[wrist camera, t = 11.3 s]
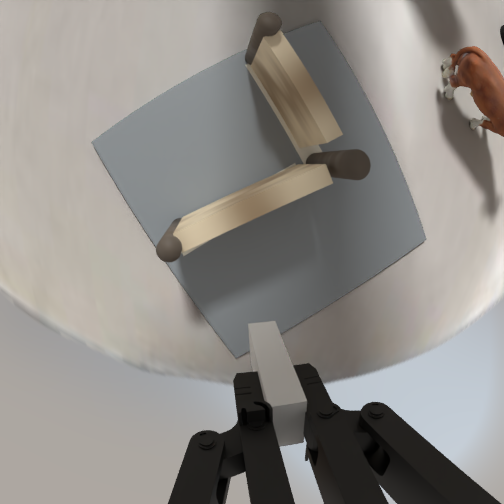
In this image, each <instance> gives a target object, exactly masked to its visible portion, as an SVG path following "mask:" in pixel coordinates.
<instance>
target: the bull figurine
mask: <svg viewBox="0 0 504 504" xmlns="http://www.w3.org/2000/svg"><path fill="white" fill-rule="evenodd" d="M442 63H443V69H444V72H443V75H442V76H443V78H445V79H446V78H449V79H450V81H449V84H448V85H447V86H446V87H445V88H444V91H446V93H445V97H446V98H447V99H448V100H452V99H453V93H454V90H455V89H456V88H457V87H459V86H464V87H469V88H471V90H472V91H471V93H470V95H471V96H472V97H473V99H474V102H475V104H476V105H477V107H478V108H479V110H480V111H481V112H482V113H483V114H484V116H482V118H483V120H477V119H475V118H473V119H472V120H470V122H471V123H470V128H471V129H472V130H474V129H475V128H476V127H477V126H482V127H483V128H485V129H489V130H491V131H492V132H494V133H497V134H499V135H501V136H503V137H504V78H503V76H502V75H501V73H500V71H499V70H498V68H497V67H496V66H495V64H494V63H493V62H492V61H491V59H490V58H489V57H488V55H487V54H486V53H485V52H484V51H482V50H481V49H479V48H478V47H475V46H472V47H465V48H462V49H461V50H460V51H458V53H457V54H451V55H450V57H449V58H447V59H446V60H445V59H444V60H443V62H442ZM456 65H458V66H459V67H458V71H457V73H456V75H455V74H454V72H455V66H456Z"/></svg>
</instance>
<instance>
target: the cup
mask: <svg viewBox="0 0 504 504" xmlns="http://www.w3.org/2000/svg"><path fill="white" fill-rule="evenodd" d="M500 32H501V38H502V41H503V43H504V25H503V26H502V27H501V29H500Z"/></svg>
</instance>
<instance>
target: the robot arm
mask: <svg viewBox="0 0 504 504" xmlns="http://www.w3.org/2000/svg"><path fill="white" fill-rule="evenodd" d="M248 329H249V344H250V359H251V367H252V371H253V372H246V373H237V374H236V376H235V378H234V380H233V383H234V391H235V400H236V408H237V415H238V421H237V424H236V425H235V426H234V427H233V428H232V429H231V430H229V431H227V432H224V433H221V434H219V433H217V432H215V431H210V430H206V431H201V432H198V433H196V434H195V435H193V436H192V438H191V439H190V442H189V445H188V448H187V450H186V453H185V456H184V459H183V462H182V465H181V467H180V470H179V473H178V476H177V479H176V482H175V485H174V488H173V491H172V493H171V496H170V499H169V502H168V504H225V503H226V498H227V493H228V488H229V484H230V479H231V477H232V476H235V475H237V474H240V473H243V472H245V471H246V477H247V484H248V490H249V496H250V502H251V504H295V502H294V499H293V495H292V492H291V488H290V484H289V481H288V477H287V474H286V470H285V467H284V462H283V459H282V455H281V451H280V448H279V447H280V446H286V445H292V444H298V443H303V442H304V441H303V440H304V437H305V439H306V442H307V445H306V455H305V461H307V460H308V458H309V460H310V463H311V466H312V470H313V472H314V475H315V478H316V481H317V484H318V487H319V490H320V493H321V495H322V499H323V502H324V504H388V502H387V500H386V498H385V496H384V494H383V492H382V490H381V488H380V486H381V487H382V488H383V489H384V490H385V491H386V492H387V493H388V494H389V495H390V497H391V498H392V499H393V500H394V501H395V502H396V503H397V504H501V503H500V502H499V501H497V500H496V499H495V498H494V497H493V496H491V495H490V494H489V493H488V492H486V491H485V490H484V489H483V488H482V487H481V486H479V485H478V484H477V483H476V482H474V481H473V480H472V479H471V478H470V477H469V476H467V475H466V474H465V473H464V472H463V471H461V470H460V469H459V468H458V467H457V466H456V465H455V464H453V463H452V462H451V461H450V460H449V459H448V458H446V457H445V456H444V455H443V454H442V453H441V452H439V451H438V450H437V449H436V448H435V447H434V446H433V445H431V444H430V443H429V442H428V441H427V440H426V439H424V438H423V437H422V436H421V435H420V434H419V433H418V432H417V431H415V430H414V429H413V428H412V427H411V426H410V425H408V424H407V423H406V422H405V421H404V420H403V419H402V418H401V417H399V416H398V415H397V414H396V413H395V412H394V411H393V410H392V409H391V408H389V407H388V406H387V405H385V404H384V403H380V402H371V403H368V404H366V405H365V406H363V408H362V409H361V411H349V410H343V409H341V408H340V407H339V406H338V405H336V404H334V403H333V402H332V401H331V399H330V397H329V395H328V393H327V391H326V389H325V387H324V385H323V383H322V380H321V378H320V377H319V374H318V372H317V370H316V369H315V368H314V367H313V366H311V365H310V364H309V363H307V364H301V365H295V366H293V364H292V362H291V359H290V357H289V354H288V352H287V349H286V347H285V344H284V342H283V339H282V337H281V334H280V332H279V329H278V327H277V324H276V322H275V321H269V322H260V323H250V324H248ZM378 483H379V484H378ZM379 485H380V486H379Z"/></svg>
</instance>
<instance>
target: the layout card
mask: <svg viewBox="0 0 504 504" xmlns="http://www.w3.org/2000/svg"><path fill="white" fill-rule="evenodd" d="M283 35H284V36H285V38H286V39H287V40H288V42H289V43H290V45H291V46H292V48H293V49H294V51H295V53H296V54H297V56H298V57H299V59H300V60H301V62H302V63H303V65H304V67H305V68H306V70H307V71H308V73H309V75H310V76H311V78H312V80H313V81H314V83H315V85H316V86H317V88H318V90H319V91H320V93H321V95H322V97H323V98H324V100H325V102H326V104H327V105H328V107H329V109H330V111H331V113H332V114H333V116H334V118H335V120H336V122H337V124H338V126H339V127H340V129H341V131H342V133H343V135H341V136H339V137H338V138H336V139H334V140H332V141H330V142H328V143H324V144H319V145H313V146H308V147H302V148H299V146H298V144H297V142H296V141H295V139H294V137H293V135H292V134H291V132H290V130H289V128H288V127H287V125H286V123H285V121H284V120H283V118H282V116H281V115H280V113H279V111H278V110H277V108H276V106H275V105H274V103H273V101H272V100H271V98H270V96H269V95H268V93H267V91H266V90H265V88H264V87H263V85H262V83H261V82H260V80H259V79H258V77H257V75H256V74H255V72H254V71H253V69H252V68H251V65H250V64H248V63H247V62H246V60H245V54H246V51H247V49H246V50H244V51H242V52H239V53H237V54H235V55H233V56H231V57H229V58H227V59H225V60H223V61H221V62H219V63H217V64H215V65H213V66H211V67H209V68H207V69H205V70H203V71H201V72H199V73H197V74H196V75H194V76H192V77H190V78H188V79H187V80H185V81H183V82H181V83H180V84H178V85H176V86H174V87H173V88H171V89H169V90H168V91H166V92H164V93H163V94H161V95H159V96H158V97H156V98H154V99H153V100H151V101H150V102H148V103H147V104H145V105H143V106H142V107H140V108H139V109H137V110H136V111H134V112H133V113H131V114H130V115H128V116H127V117H125V118H124V119H123V120H121V121H120V122H118V123H117V124H115V125H114V126H113V127H111V128H110V129H109V130H107V131H106V132H104V133H103V134H102V135H100V136H99V137H98V138H96V139H95V140H94V141H92V144H93V146H94V147H95V149H96V151H97V153H98V154H99V156H100V158H101V160H102V161H103V163H104V165H105V167H106V168H107V170H108V172H109V173H110V175H111V177H112V178H113V180H114V182H115V183H116V185H117V187H118V188H119V190H120V192H121V193H122V195H123V197H124V198H125V200H126V201H127V203H128V205H129V206H130V208H131V209H132V211H133V213H134V214H135V216H136V217H137V219H138V221H139V222H140V224H141V225H142V227H143V228H144V230H145V231H146V233H147V234H148V236H149V238H150V239H151V241H152V242H153V244H154V245H155V247H157V244H158V242H159V241H160V239H161V238H162V236H163V235H164V233H165V232H166V231H167V229H168V228H169V226H170V225H171V223H172V222H173V221H174V220H175V219H177V218H182V217H184V216H186V215H188V214H190V213H192V212H194V211H196V210H198V209H200V208H202V207H204V206H207V205H209V204H211V203H213V202H215V201H217V200H219V199H221V198H223V197H226V196H228V195H230V194H232V193H234V192H236V191H239V190H241V189H243V188H245V187H247V186H250V185H252V184H254V183H256V182H258V181H261V180H263V179H265V178H267V177H270V176H272V175H274V174H277V173H279V172H281V171H284V170H286V169H288V168H291V167H293V166H295V165H298V164H306V160H307V158H308V156H309V155H311V154H313V153H319V152H329V151H339V150H351V149H359V150H362V151H363V152H365V153H366V154H367V156H368V157H369V159H370V164H371V167H370V172H369V174H368V175H367V176H366V177H365V178H364V179H362V180H349V179H342V178H333V177H331V178H332V181H333V184H331V185H328V186H326V187H324V188H322V189H319V190H317V191H315V192H313V193H310V194H308V195H306V196H304V197H301V198H299V199H297V200H295V201H292V202H290V203H288V204H286V205H284V206H281V207H279V208H277V209H275V210H273V211H270V212H268V213H266V214H264V215H262V216H260V217H257V218H255V219H253V220H251V221H249V222H247V223H244V224H242V225H240V226H238V227H236V228H234V229H232V230H229V231H227V232H225V233H223V234H221V235H219V236H217V237H215V238H213V239H210V240H208V241H206V242H204V243H202V244H200V245H198V246H196V247H194V248H192V249H189V250H187V251H185V252H183V253H182V252H181V255H180V257H179V258H178V259H177V260H176V261H174V262H166V263H167V264H168V266H169V267H170V269H171V270H172V272H173V273H174V275H175V276H176V278H177V279H178V280H179V282H180V283H181V285H182V286H183V288H184V289H185V290H186V292H187V293H188V295H189V296H190V297H191V299H192V300H193V302H194V303H195V304H196V306H197V307H198V308H199V310H200V311H201V313H202V314H203V315H204V317H205V318H206V319H207V321H208V322H209V323H210V325H211V326H212V327H213V329H214V330H215V331H216V333H217V334H218V335H219V337H220V338H221V339H222V341H223V342H224V343H225V345H226V346H227V347H228V349H229V350H230V351H231V352H232V354H233V355H234V356H235V358H238V357H239V356H241V355H243V354H245V353H247V352H249V351H250V344H249V329H248V324H250V323H260V322H269V321H275V322H276V324H277V327H278V329H279V332H280V334H281V333H283V332H285V331H286V330H288V329H290V328H291V327H293V326H295V325H297V324H298V323H300V322H302V321H303V320H305V319H307V318H308V317H310V316H312V315H313V314H315V313H317V312H318V311H320V310H322V309H323V308H325V307H326V306H328V305H330V304H331V303H333V302H335V301H336V300H338V299H339V298H341V297H342V296H344V295H346V294H347V293H349V292H350V291H352V290H353V289H355V288H357V287H358V286H360V285H361V284H363V283H364V282H366V281H367V280H369V279H370V278H372V277H373V276H375V275H376V274H378V273H379V272H381V271H382V270H384V269H385V268H387V267H388V266H389V265H391V264H392V263H394V262H395V261H397V260H398V259H400V258H401V257H402V256H404V255H405V254H407V253H408V252H410V251H411V250H412V249H414V248H415V247H417V246H418V245H419V244H421V243H422V242H423V241H425V240H426V236H425V233H424V230H423V227H422V224H421V221H420V218H419V215H418V212H417V210H416V207H415V204H414V201H413V199H412V196H411V193H410V191H409V188H408V185H407V183H406V180H405V178H404V175H403V173H402V170H401V168H400V166H399V163H398V161H397V159H396V156H395V154H394V152H393V149H392V147H391V145H390V143H389V141H388V138H387V136H386V134H385V132H384V130H383V128H382V126H381V124H380V122H379V120H378V118H377V116H376V114H375V112H374V110H373V108H372V106H371V104H370V102H369V100H368V98H367V96H366V95H365V93H364V91H363V89H362V87H361V85H360V84H359V82H358V80H357V78H356V77H355V75H354V73H353V71H352V70H351V68H350V66H349V65H348V63H347V61H346V60H345V58H344V56H343V55H342V53H341V51H340V50H339V48H338V47H337V45H336V44H335V42H334V40H333V39H332V37H331V36H330V34H329V33H328V31H327V30H326V28H325V27H324V26H323V24H322V23H321V21H318V22H315V23H312V24H309V25H306V26H303V27H301V28H298V29H295V30H292V31H290V32H287V33H284V34H283Z"/></svg>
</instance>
